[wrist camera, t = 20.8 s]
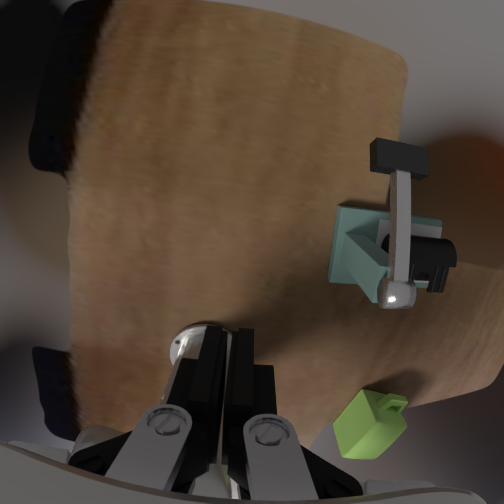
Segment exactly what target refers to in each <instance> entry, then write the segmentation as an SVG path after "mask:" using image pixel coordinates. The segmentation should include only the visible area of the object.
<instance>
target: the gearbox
mask: <svg viewBox="0 0 504 504" xmlns="http://www.w3.org/2000/svg"><path fill="white" fill-rule="evenodd" d="M407 404H408V401H407V399H406V397H405V396H401V395H396V394H392V393H389V394H387V395H386V394H382V393H379V392H375V391H370V390H364V389H362V390H360V392H359V393H358V394H357V395H356V396H355V398H354V399H353V400H352V401H351V402H350V403H349V405H348V406H347V407H346V408H345V409H344V411H343V412H342V413H341V414H340V416H339V417H338V418H337V419H336V421H335V422H334V423H333V427H334V431H335V435H336V439H337V442H338V446H339V449H340V453H341V456H342V457H345V458H353V459H375V458H377V457H378V456H379V455H380V454H381V453H382V452H384V450H386V449H387V448H388V447H389V446H390V445H391V444H392V443H393V442H394V441H395V440H396V439H397V438H398V437H399V436H400V435H401V433H402V432H403V431H404V430H405V429H406V428H407V424H406V422H405V420H404V418H403V416H402V414H401V412H402V411H403V409H404V408H405V406H406V405H407Z"/></svg>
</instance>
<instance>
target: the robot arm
mask: <svg viewBox="0 0 504 504" xmlns="http://www.w3.org/2000/svg"><path fill="white" fill-rule="evenodd" d="M170 359H171V363H172V365H173V368H172V371H171V374H170V377H169V379H168V382H167V385H166V388H165V391H164V393H163V396H162V399H161V402H160V405H157V406H153V407H151V408H150V409H148V410H147V411H146V412H145V413H144V414H143V415H142V417H141V419H140V420H139V422H138V423H137V425H136V427H135V428H134V430H132V431H130V432H127V433H123V432H120V431H117V430H115V429H112V428H109V427H105V426H100V425H92V426H89V427H87V428H85V429H84V430H83V431H82V432H81V433H80V434H79V436H78V438H77V440H76V442H75V445H74V447H73V450H72V453H70V452H69V450H67V449H60V448H53V447H47V446H41V445H36V444H30V443H25V442H21V441H11V442H8V443H4V442H0V504H487V503H486V502H485V501H484V500H483V499H482V498H481V497H479V496H478V495H477V494H475V493H472V492H470V491H467V490H462V489H457V488H444V487H436V486H435V485H434V484H432V483H430V482H427V481H387V480H367V481H366V482H358V481H357V480H356V479H355V478H354V477H352V476H351V475H349V474H347V473H345V472H344V471H342V470H340V469H338V468H337V467H335V466H333V465H332V464H330V463H328V462H327V461H325V460H323V459H322V458H320V457H319V456H317V455H316V454H314V453H312V452H311V451H309V450H308V449H306V448H305V447H303V446H302V445H300V443H299V440H298V437H297V434H296V431H295V429H294V427H293V425H292V424H291V423H290V422H289V421H288V420H287V419H285V418H283V417H281V416H278V415H277V407H276V393H275V379H274V367H273V365H257V364H254V329H246V328H239V332H234V331H233V332H232V333H231V332H229V331H228V330H226V329H224V328H222V326H216V325H211V324H196V325H191V326H189V327H186V328H184V329H183V330H181V331H180V332H179V333H178V334H177V335H176V336H175V338H174V339H173V341H172V344H171V346H170ZM230 477H231V478H232V479H233V480H234V481H235V482H236V483H238V484H237V490H238V497H239V499H232V487H231V480H230Z"/></svg>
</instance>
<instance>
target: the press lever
mask: <svg viewBox="0 0 504 504" xmlns="http://www.w3.org/2000/svg"><path fill="white" fill-rule="evenodd" d="M370 171H371V172H378V173H384V174H389V175H390V238H389V258H388V274H387V277H383V278H381V280H380V282H379V284H378V288H377V302H378V305H379V307H380V308H383V309H410V308H412V307H413V305H414V303H415V300H416V285H415V282H414V281H413V280H412V279H408V275H409V260H410V237H411V179H410V178H412V179H416V180H421V179H423V178H425V177H427V176H429V168H428V154H427V149H426V148H423V147H419V146H414V145H410V144H406V143H401V142H396V141H392V140H387V139H382V138H376V139H375V140H374V141H373V142H372V143H370Z"/></svg>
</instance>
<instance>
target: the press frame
mask: <svg viewBox="0 0 504 504" xmlns="http://www.w3.org/2000/svg"><path fill="white" fill-rule="evenodd" d="M441 227H442V221H441V220H438V219H435V218H430V217H423V216H416V215H411V235H415V236H424V237H433V238H440V237H441V232H442V228H441ZM389 233H390V212H389V211H381V210H374V209H366V208H358V207H350V206H341V205H338V206H337V214H336V221H335V228H334V236H333V242H332V249H331V256H330V262H329V268H328V274H327V279H328V280H329V282H330V283H343V284H359V286H360V287H361V288H362V290H363V291H364V292H365V294H366V295H367V297H368V298H369V299H370V301H371V302H372V303H378V302H377V288H378V284H379V282H380V280H381V278H383V277H387V274H388V258H389V254H388V253H387V252H385V251H384V250H383V249H382V248H381V244H382V241H383V239H384V237H385V236H386V235H387V234H389ZM414 282H415V285H416V288H427V287H428V283H429V281H415V280H414Z"/></svg>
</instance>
